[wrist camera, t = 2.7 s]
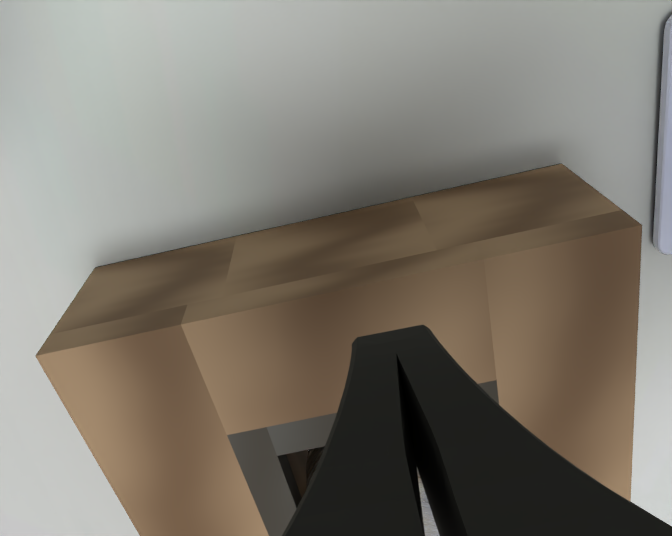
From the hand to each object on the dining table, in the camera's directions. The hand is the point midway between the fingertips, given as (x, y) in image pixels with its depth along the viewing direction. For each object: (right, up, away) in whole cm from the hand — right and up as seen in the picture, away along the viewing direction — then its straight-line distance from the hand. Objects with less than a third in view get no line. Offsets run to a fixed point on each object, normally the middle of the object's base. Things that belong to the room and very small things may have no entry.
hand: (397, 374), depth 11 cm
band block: (0, -3, +12) cm, 13 cm away
